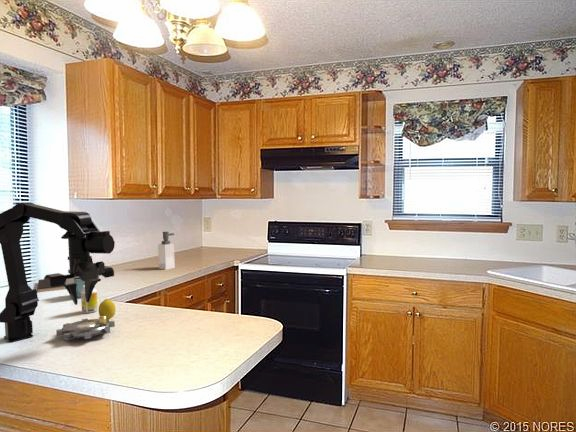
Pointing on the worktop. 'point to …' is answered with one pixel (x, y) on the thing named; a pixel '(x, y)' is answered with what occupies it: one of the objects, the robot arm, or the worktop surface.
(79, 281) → the flower pot
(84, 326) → the sprocket
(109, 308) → the lemon
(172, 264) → the soap dispenser
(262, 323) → the worktop surface
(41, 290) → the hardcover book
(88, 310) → the supplement bottle
